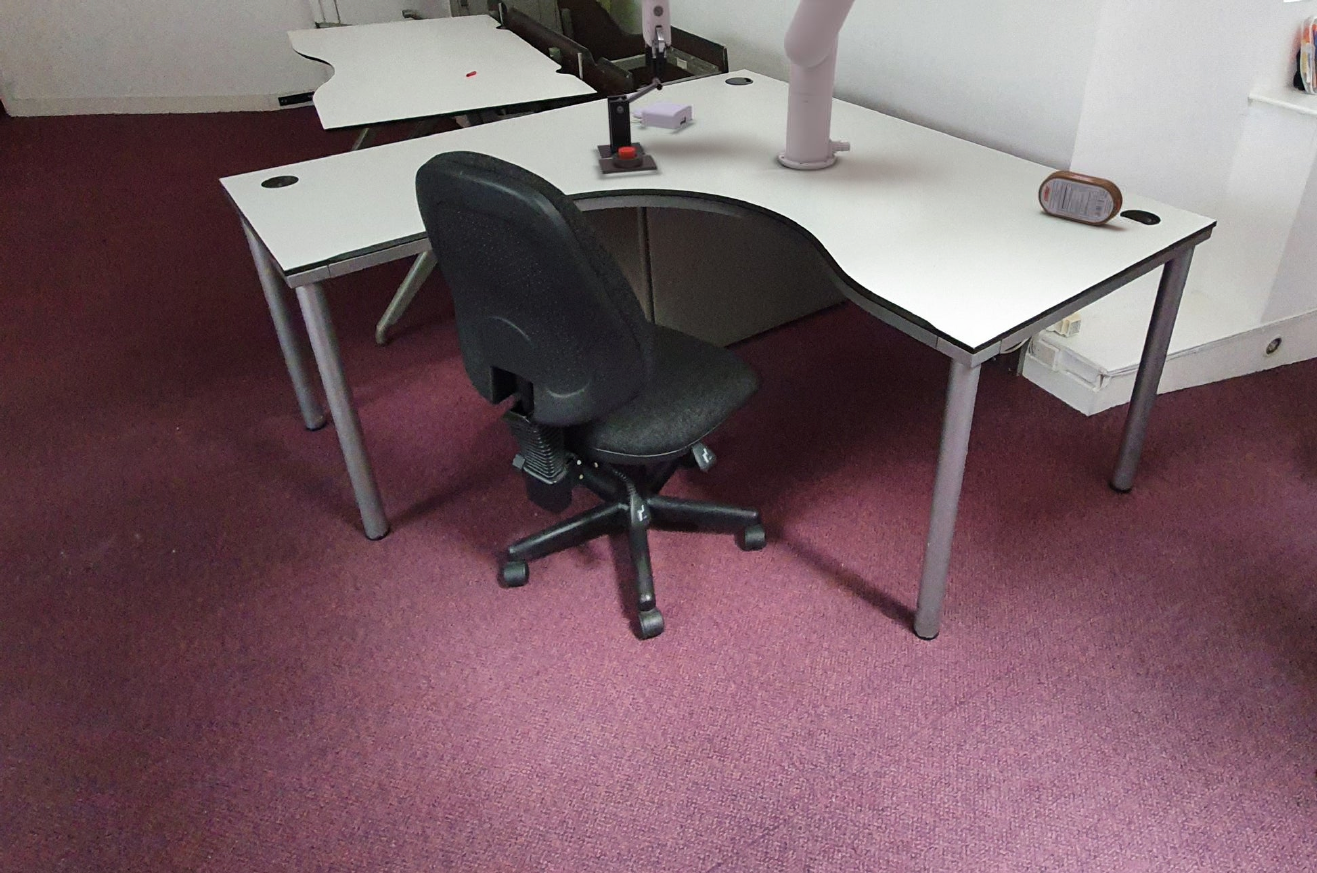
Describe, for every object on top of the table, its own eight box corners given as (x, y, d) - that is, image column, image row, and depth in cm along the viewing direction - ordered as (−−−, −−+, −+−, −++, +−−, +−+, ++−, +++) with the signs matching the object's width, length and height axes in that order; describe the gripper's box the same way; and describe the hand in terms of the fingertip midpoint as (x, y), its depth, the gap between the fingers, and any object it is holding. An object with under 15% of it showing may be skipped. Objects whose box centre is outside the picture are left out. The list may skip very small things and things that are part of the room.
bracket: (639, 147, 222) (637, 91, 215) (645, 159, 215) (643, 101, 207) (597, 150, 221) (593, 94, 214) (602, 162, 214) (598, 105, 206)
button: (634, 154, 208) (633, 146, 207) (636, 159, 205) (636, 151, 204) (618, 155, 208) (617, 147, 207) (620, 160, 205) (619, 152, 204)
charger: (641, 116, 243) (692, 123, 236) (622, 126, 236) (674, 133, 230) (640, 97, 240) (691, 104, 234) (621, 106, 234) (673, 113, 227)
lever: (660, 84, 213) (655, 74, 212) (664, 90, 209) (660, 80, 207) (614, 111, 215) (609, 101, 213) (617, 117, 210) (612, 108, 209)
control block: (651, 162, 213) (650, 146, 211) (657, 173, 206) (656, 158, 204) (598, 166, 211) (597, 151, 209) (603, 178, 205) (602, 162, 203)
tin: (1117, 226, 175) (1128, 182, 170) (1110, 231, 173) (1122, 186, 168) (1038, 207, 184) (1047, 165, 179) (1032, 212, 182) (1040, 170, 177)
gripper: (679, -7, 192) (679, 80, 202) (664, -21, 206) (665, 60, 216) (643, -5, 191) (645, 82, 201) (631, -19, 205) (633, 62, 215)
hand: (655, 71), depth 209 cm, fingers open, 9 cm apart
